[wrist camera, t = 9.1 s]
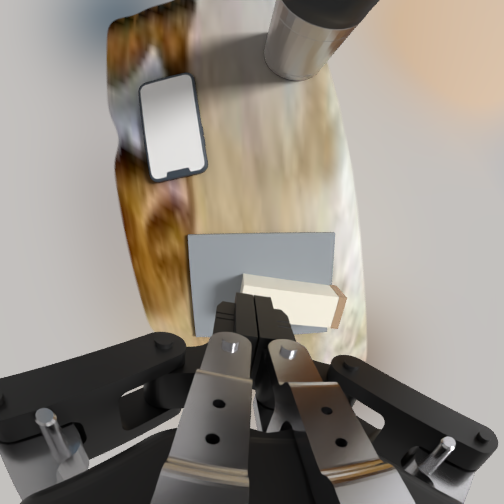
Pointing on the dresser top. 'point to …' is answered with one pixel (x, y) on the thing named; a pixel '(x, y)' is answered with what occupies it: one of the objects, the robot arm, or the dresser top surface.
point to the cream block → (299, 299)
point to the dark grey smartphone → (172, 128)
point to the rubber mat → (253, 267)
